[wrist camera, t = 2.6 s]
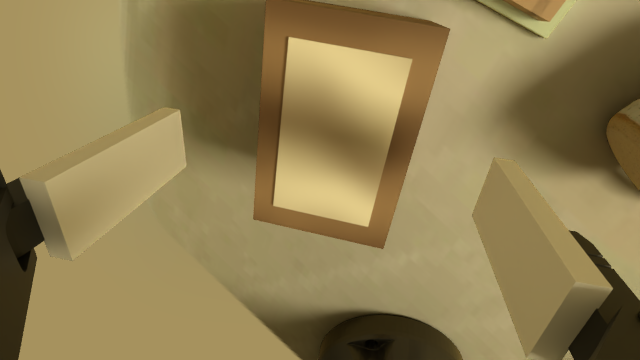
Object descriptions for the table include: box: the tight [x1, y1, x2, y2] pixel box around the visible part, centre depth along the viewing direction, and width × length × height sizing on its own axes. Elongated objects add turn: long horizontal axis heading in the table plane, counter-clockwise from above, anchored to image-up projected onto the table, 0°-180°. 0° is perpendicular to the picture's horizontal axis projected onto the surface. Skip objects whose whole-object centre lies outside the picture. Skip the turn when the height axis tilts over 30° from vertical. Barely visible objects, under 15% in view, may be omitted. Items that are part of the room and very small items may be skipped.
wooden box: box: [253, 0, 450, 249], centre depth 21 cm, size 12×8×8 cm, turn 172°
